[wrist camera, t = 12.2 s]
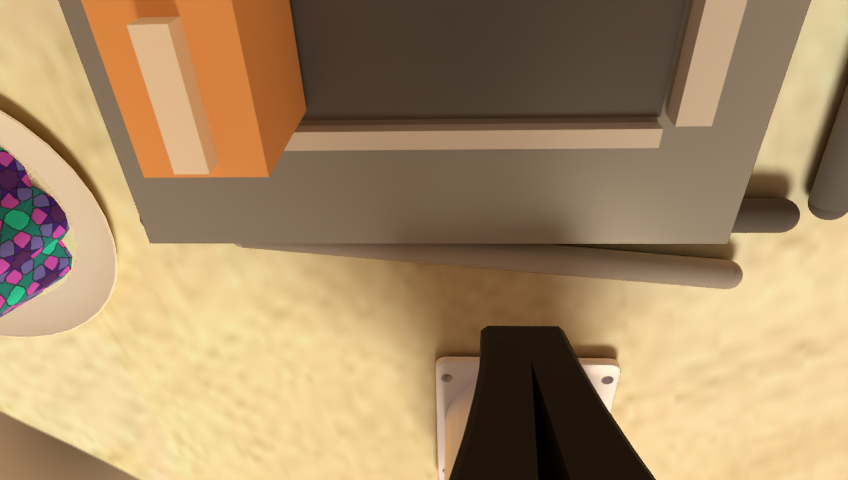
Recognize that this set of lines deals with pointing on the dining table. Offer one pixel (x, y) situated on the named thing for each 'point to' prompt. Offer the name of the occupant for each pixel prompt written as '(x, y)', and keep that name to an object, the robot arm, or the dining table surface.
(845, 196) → the cord
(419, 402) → the dining table surface
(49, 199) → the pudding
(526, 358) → the robot arm
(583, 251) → the cord
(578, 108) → the grey framed board
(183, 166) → the lever
